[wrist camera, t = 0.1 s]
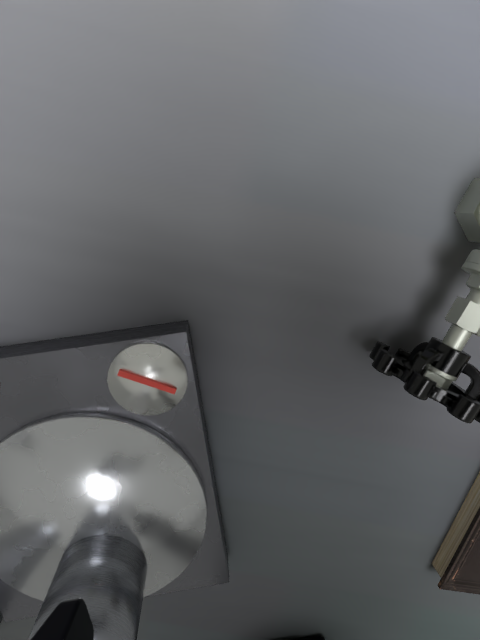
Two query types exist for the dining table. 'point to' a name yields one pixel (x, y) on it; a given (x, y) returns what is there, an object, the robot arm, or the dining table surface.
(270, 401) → the dining table surface
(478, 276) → the valve
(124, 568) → the cylinder
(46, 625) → the robot arm
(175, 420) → the dial scale
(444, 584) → the hardcover book
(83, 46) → the dining table surface
